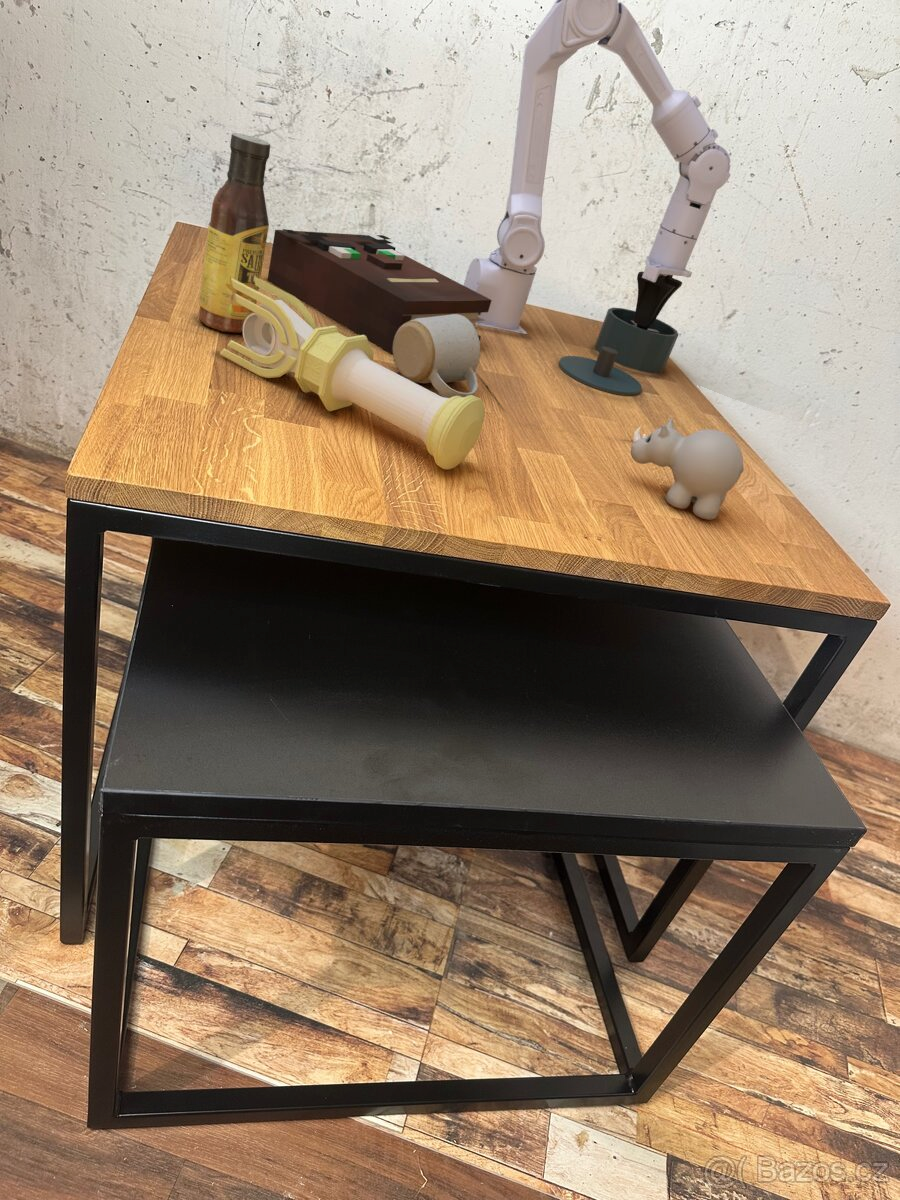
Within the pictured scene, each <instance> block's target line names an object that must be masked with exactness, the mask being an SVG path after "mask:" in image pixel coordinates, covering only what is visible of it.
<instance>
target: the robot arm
mask: <svg viewBox="0 0 900 1200" xmlns="http://www.w3.org/2000/svg"><path fill="white" fill-rule="evenodd" d="M596 42H597V44H596V45H597V46H599V47H601V48H603V49H606V50H607V51H609V52H611V53H613V54H616V55H618V56H619V57H620V59H621V60H622V62H623V64H624V65H625V66H626V67H627V69H628V71H629V73H630V74H631V75H632V77H633V79H635V81H636V83H637V84H638V85H639V87H640V88H641V90H642V92H643V93H644V95H645V96H646V97H647V99H648V100H649V102H650V103H651V105H652V114H651V117H650V118H651V119H650V120H651V121H650V123H651V125H652V127H653V128H654V129H655V131H656V133H657V134H658V136H659V137H660V139H661V141H662V142H663V144H664V145H665V147H666V148H667V150H668V152H669V153H670V154H671V157H672V158H673V159H674V161H675V162H678V164H677V165H678V173H679V178H678V180H677V182H676V186H675V188H674V190H673V192H672V194H671V197H670V198H669V201H668V204H667V207H666V210H665V212H664V214H663V217H662V220H661V222H660V225H659V228H658V230H657V233H656V235H655V238H654V241H653V243H652V246H651V249H650V251H649V254H648V256H646V258H645V261H644V262H645V263H644V264H645V267H644V270H643V271H642V270H641V271H639V272H638V274H637V277H636V281H637V299H636V300H637V301H636V304H635V307H636V308H635V310H634V311H635V317H634V323H636V324H638V325H641V326H643V327H647V326H648V325H652V323H653V322H654V321H655V319H658V316H659V314H660V313H661V311H662V310H663V308H664V307H665V305H666V304H667V302H668V301H669V300H670V298H671V297H672V296H673V295H674V294H675V292H677V291H678V290H679V289H680V288H681V287H682V285H683V281H681V280H679V279H677V278H674V276H676V277H683V278H684V277H685V278H687V279H688V278H691V277H692V275H693V272H692V271H690V270H687V269H686V268H687V265H688V264H689V260H690V258H691V257H692V253H693V251H694V248H695V246H696V243H697V241H698V238H699V236H700V235H701V232H702V228H703V226H704V224H705V222H706V219H707V217H708V214H709V211H710V209H711V207H712V203H713V200H714V198H715V196H716V193H717V191H718V190H719V189H721V188H722V187H724V185H725V184H727V182H728V180H729V179H730V178H731V175H732V174H731V173H730V170H731V165H730V163H731V158H730V154H729V153H728V151H727V150H726V149H725V148H724V147H723V146H721V145H719V144H718V143H716V142H715V141H716V139H717V138H718V137H719V134H718V132H717V130H716V129H714V128H712V129H711V128H710V126H709V124H708V123H707V121H706V119H705V117H704V116H703V114H702V113H701V111H700V109H699V107H700V106H701V105H702V102H701V101H700V99H699V98H698V96H696V95H693V96H691V94H690V93H689V91H687V90H679V89H678V90H677V89H674V87H673V84H672V83H671V81H670V79H669V78H668V75H667V74H666V72H665V71H664V69H663V67H662V65H661V63H660V61H659V60H658V57H657V56H656V53H654V51H653V49H652V47H651V45H650V43H649V42H648V40H647V38H646V36H645V35H644V32H643V31H642V29H641V27H640V25H639V24H638V22H637V21H636V19H635V18H634V16H633V15H632V13H631V12H630V10H629V8H628V7H627V6H625V4H624V3H623V2H622V1H620V2H619V0H555V1H554V3H553V5H552V6H551V8H550V10H549V11H548V13H547V14H546V15H545V17H543V20H542V21H541V22H540V24H539V25H538V27H537V28H536V29H535V31H534V32H533V34H531V36H530V38H529V39H528V41H527V43H526V44H525V47H524V53H523V63H522V72H521V81H520V82H521V83H520V89H519V90H520V91H519V99H518V100H519V101H518V109H517V120H516V127H515V128H516V129H515V138H514V147H513V148H514V149H513V156H512V165H511V176H510V183H509V184H510V186H509V192H508V197H507V201H506V207H505V213H504V216H503V218H502V220H500V223H499V225H498V226H497V227H498V228H497V232H496V237H497V238H496V239H497V244H498V246H499V247H497V248H496V249H495V250H493V251H491V252H490V254H489V257H487V258H481V257H475V258H473V260H471V262H470V264H469V266H468V269H467V271H466V276H465V279H464V283H463V286H465V287H467V288H469V289H471V290H473V291H475V292H477V293H479V294H481V295H483V296H485V297H487V298H489V299H491V300H492V301H491V304H490V307H489V311H488V312H483V313H479V314H478V317H480V318H482V319H484V320H486V321H476V324H475V325H477V326H483V327H488V328H493V329H498V330H503V331H508V332H514V333H519V334H524V335H528V332H527V331H526V330H525V329H524V328H523V327H522V326H521V325H520V324H521V320H522V317H523V314H524V311H525V309H526V308H525V307H526V305H527V301H528V299H529V295H530V293H531V289H532V286H533V282H534V279H535V276H536V273H537V269H538V268H537V267H536V265H537V264H538V263H539V262H540V260H541V259H542V257H543V255H544V252H545V247H546V243H545V238H544V235H543V232H542V219H543V218H542V217H543V193H544V186H545V185H544V184H545V178H546V169H547V161H548V155H549V154H548V153H549V145H550V137H551V130H552V122H553V114H554V106H555V98H556V91H557V82H558V76H559V75H558V74H559V69H560V67H561V66H562V65H563V64H565V63H566V62H567V61H568V60H569V59H570V58H571V57H573V55H575V54H576V53H577V52H578V50H580V49H583V48H584V47H587V46H590V45H592V44H594V43H596Z"/></svg>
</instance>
